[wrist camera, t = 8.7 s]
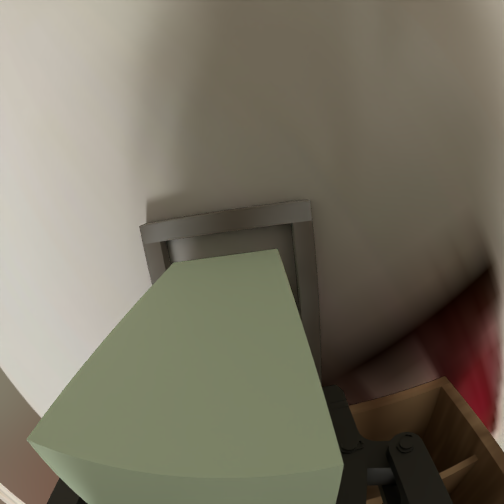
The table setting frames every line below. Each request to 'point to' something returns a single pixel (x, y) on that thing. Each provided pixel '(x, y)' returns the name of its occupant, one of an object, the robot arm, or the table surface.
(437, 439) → the cabinet
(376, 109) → the table surface
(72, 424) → the tall sage green box
